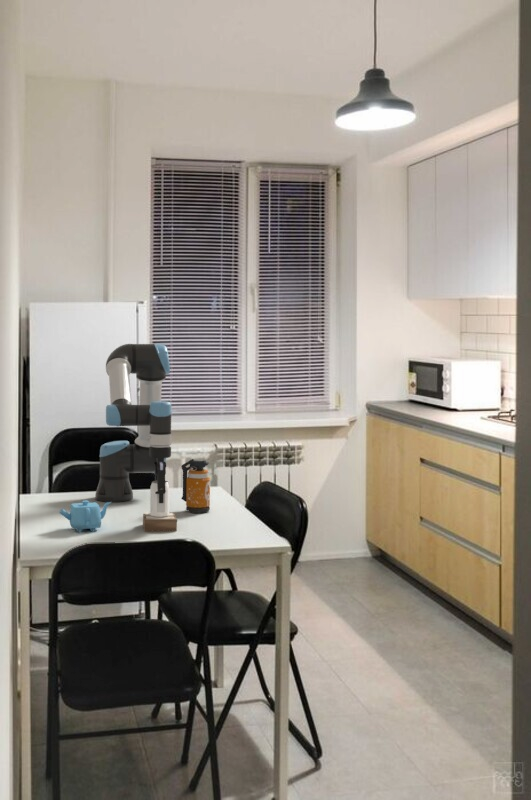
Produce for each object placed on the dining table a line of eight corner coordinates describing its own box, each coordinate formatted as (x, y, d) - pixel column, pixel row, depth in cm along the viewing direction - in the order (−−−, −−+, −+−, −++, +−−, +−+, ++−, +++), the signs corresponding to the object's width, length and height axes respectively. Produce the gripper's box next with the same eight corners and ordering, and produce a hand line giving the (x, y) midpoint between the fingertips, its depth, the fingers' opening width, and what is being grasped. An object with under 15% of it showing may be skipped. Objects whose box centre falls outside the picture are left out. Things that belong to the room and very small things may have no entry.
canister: (206, 514, 340) (206, 461, 339) (177, 512, 342) (178, 460, 341) (212, 509, 349) (212, 458, 347) (184, 508, 351) (185, 457, 350)
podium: (142, 524, 321) (143, 512, 320) (173, 524, 323) (174, 512, 322) (144, 531, 310) (144, 519, 310) (176, 531, 312) (176, 518, 312)
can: (163, 513, 321) (163, 479, 320) (172, 516, 315) (172, 482, 314) (146, 515, 317) (147, 481, 316) (156, 518, 312) (156, 483, 311)
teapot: (61, 535, 303) (61, 505, 302) (56, 526, 316) (56, 497, 315) (115, 532, 309) (115, 502, 308) (107, 523, 322) (107, 495, 322)
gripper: (147, 441, 324) (147, 503, 326) (151, 450, 302) (150, 516, 304) (168, 441, 326) (167, 502, 328) (173, 450, 304) (173, 515, 306)
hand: (159, 509), depth 316 cm, fingers open, 10 cm apart
